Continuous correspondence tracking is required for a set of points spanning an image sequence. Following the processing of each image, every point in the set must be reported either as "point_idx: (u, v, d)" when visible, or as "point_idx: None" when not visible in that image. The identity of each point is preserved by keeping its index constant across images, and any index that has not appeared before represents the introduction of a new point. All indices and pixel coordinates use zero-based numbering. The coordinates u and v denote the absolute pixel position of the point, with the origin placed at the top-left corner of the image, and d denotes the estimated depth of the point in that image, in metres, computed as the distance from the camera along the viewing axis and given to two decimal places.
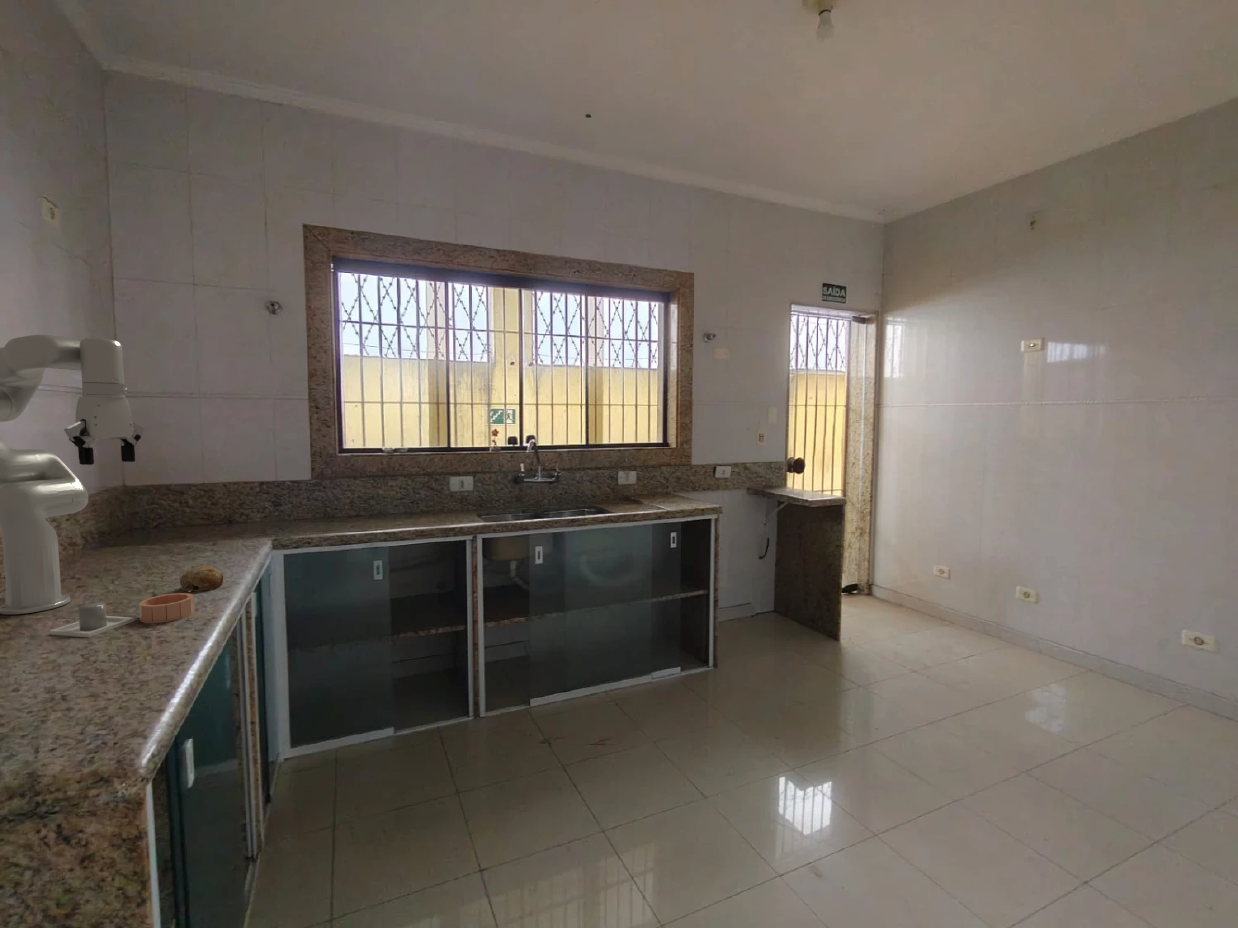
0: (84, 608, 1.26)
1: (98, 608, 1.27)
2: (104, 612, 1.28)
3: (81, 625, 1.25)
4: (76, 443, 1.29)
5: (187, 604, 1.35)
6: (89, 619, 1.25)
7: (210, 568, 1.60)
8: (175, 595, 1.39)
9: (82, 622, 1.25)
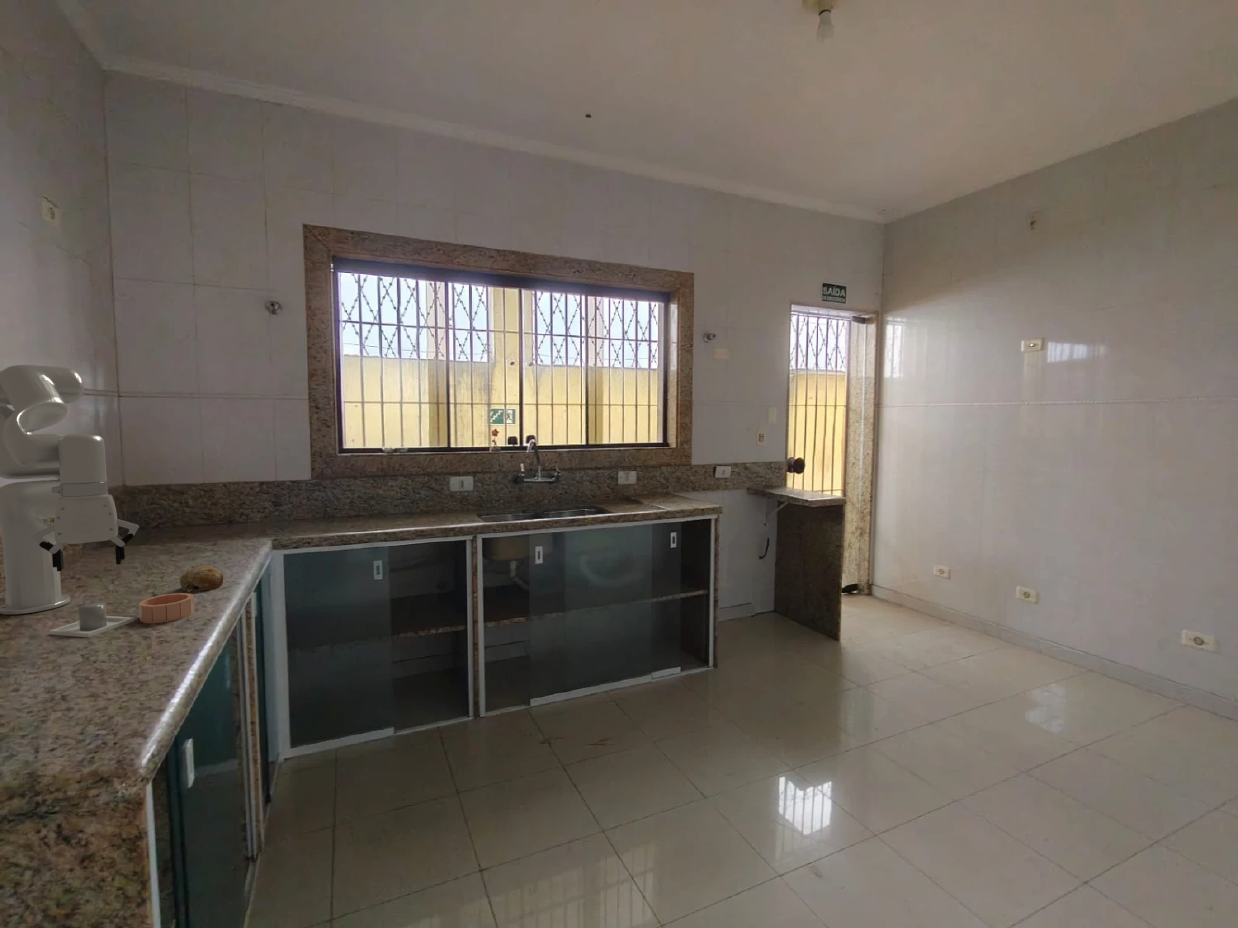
0: (84, 608, 1.26)
1: (98, 608, 1.27)
2: (104, 612, 1.28)
3: (81, 625, 1.25)
4: (128, 540, 1.30)
5: (187, 604, 1.35)
6: (89, 619, 1.25)
7: (210, 568, 1.60)
8: (175, 595, 1.39)
9: (82, 622, 1.25)
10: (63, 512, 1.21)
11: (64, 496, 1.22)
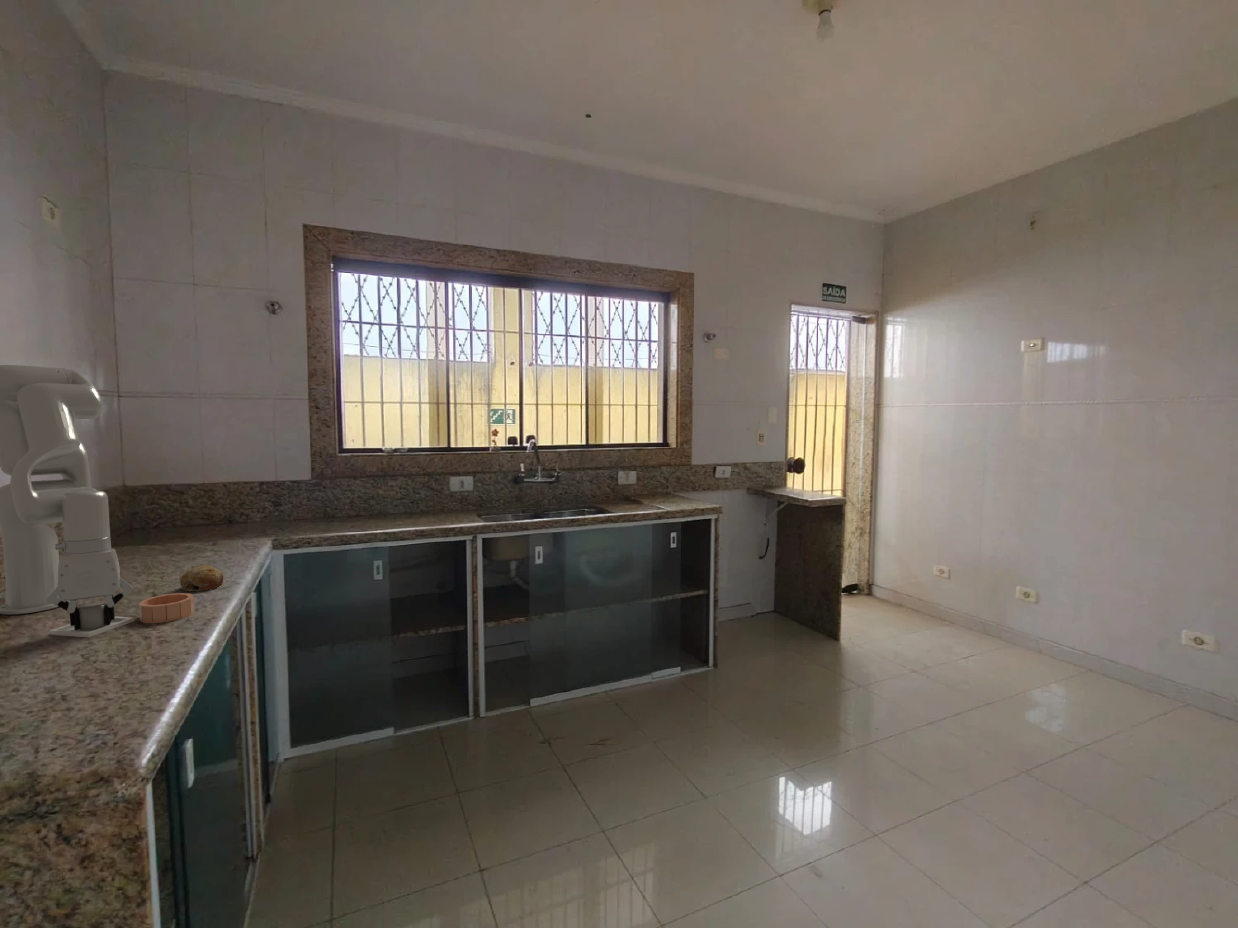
0: (84, 608, 1.26)
1: (98, 608, 1.27)
2: (104, 612, 1.28)
3: (81, 625, 1.25)
4: (118, 600, 1.30)
5: (187, 604, 1.35)
6: (89, 619, 1.25)
7: (210, 568, 1.60)
8: (175, 595, 1.39)
9: (82, 622, 1.25)
10: (66, 569, 1.22)
11: (68, 553, 1.23)
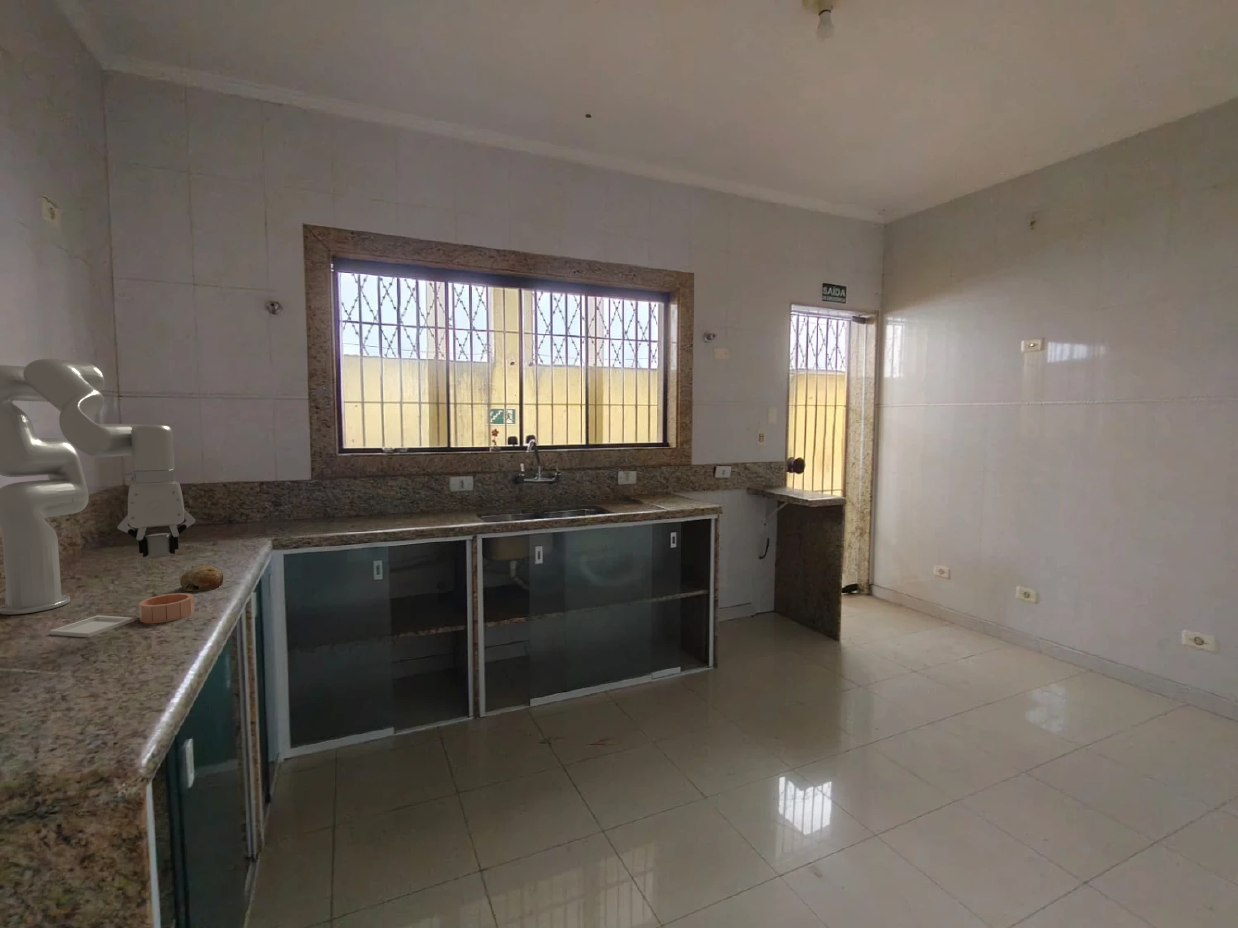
0: (151, 536, 1.32)
1: (164, 537, 1.33)
2: (169, 541, 1.34)
3: (149, 552, 1.32)
4: None
5: (187, 604, 1.35)
6: (156, 547, 1.32)
7: (210, 568, 1.60)
8: (175, 595, 1.39)
9: (150, 549, 1.32)
10: (136, 497, 1.29)
11: (137, 482, 1.29)
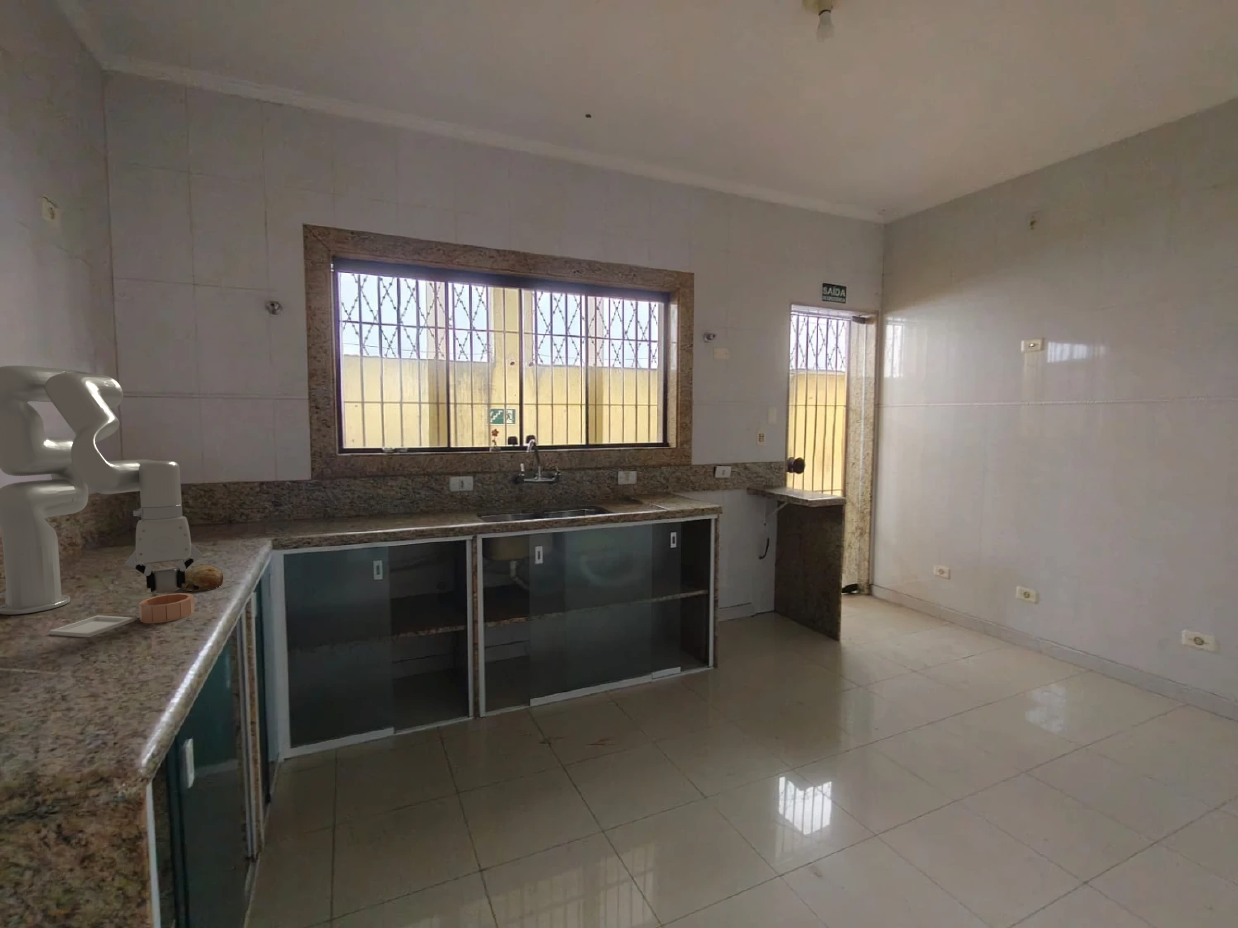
0: (159, 571, 1.33)
1: (172, 571, 1.34)
2: (177, 576, 1.36)
3: (156, 587, 1.33)
4: None
5: (187, 604, 1.35)
6: (164, 582, 1.33)
7: (210, 568, 1.60)
8: (175, 595, 1.39)
9: (158, 584, 1.33)
10: (144, 533, 1.30)
11: (145, 519, 1.30)
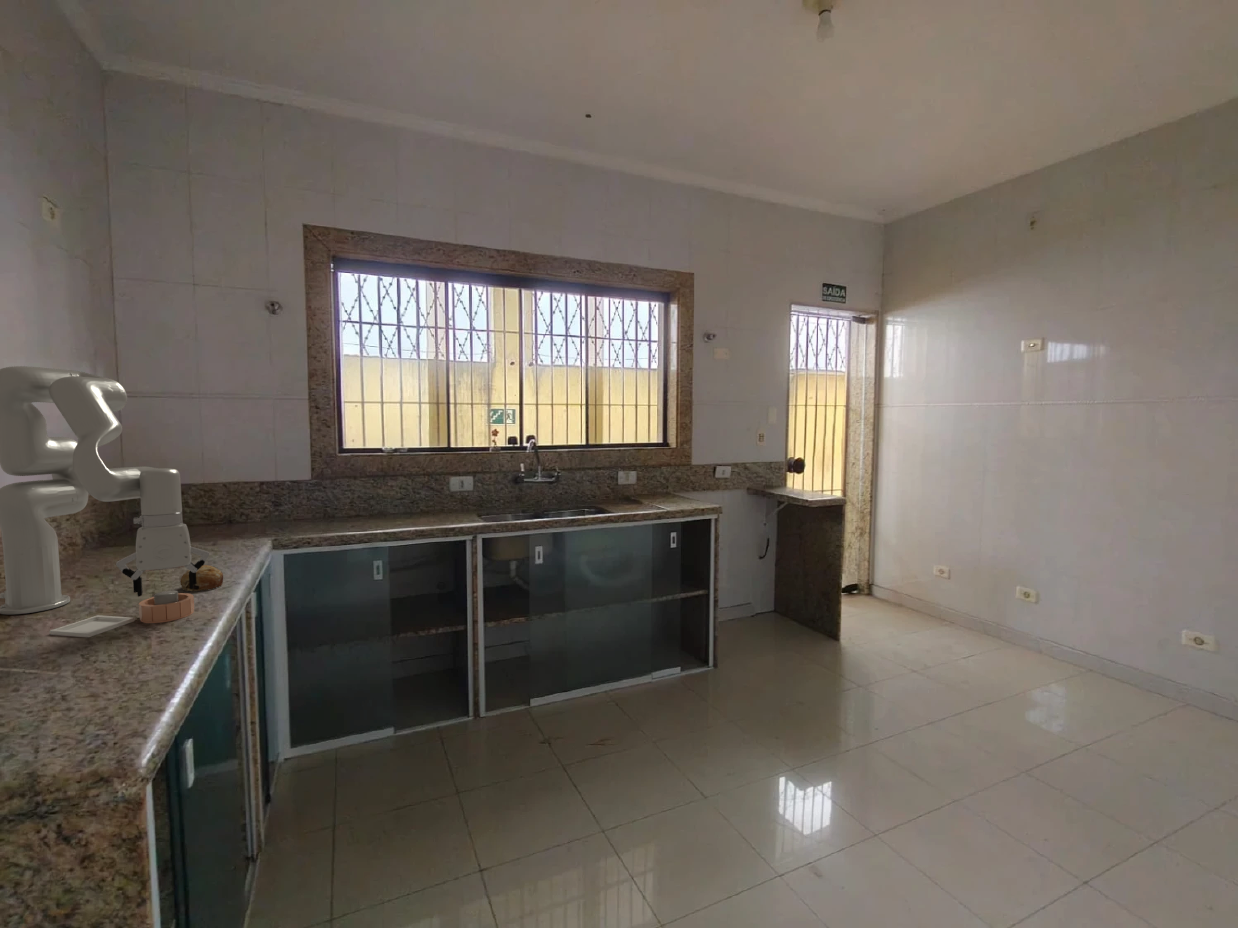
0: (159, 595, 1.34)
1: (172, 595, 1.35)
2: (177, 599, 1.36)
3: None
4: None
5: (187, 604, 1.35)
6: None
7: (210, 568, 1.60)
8: None
9: None
10: (144, 541, 1.30)
11: (145, 526, 1.31)
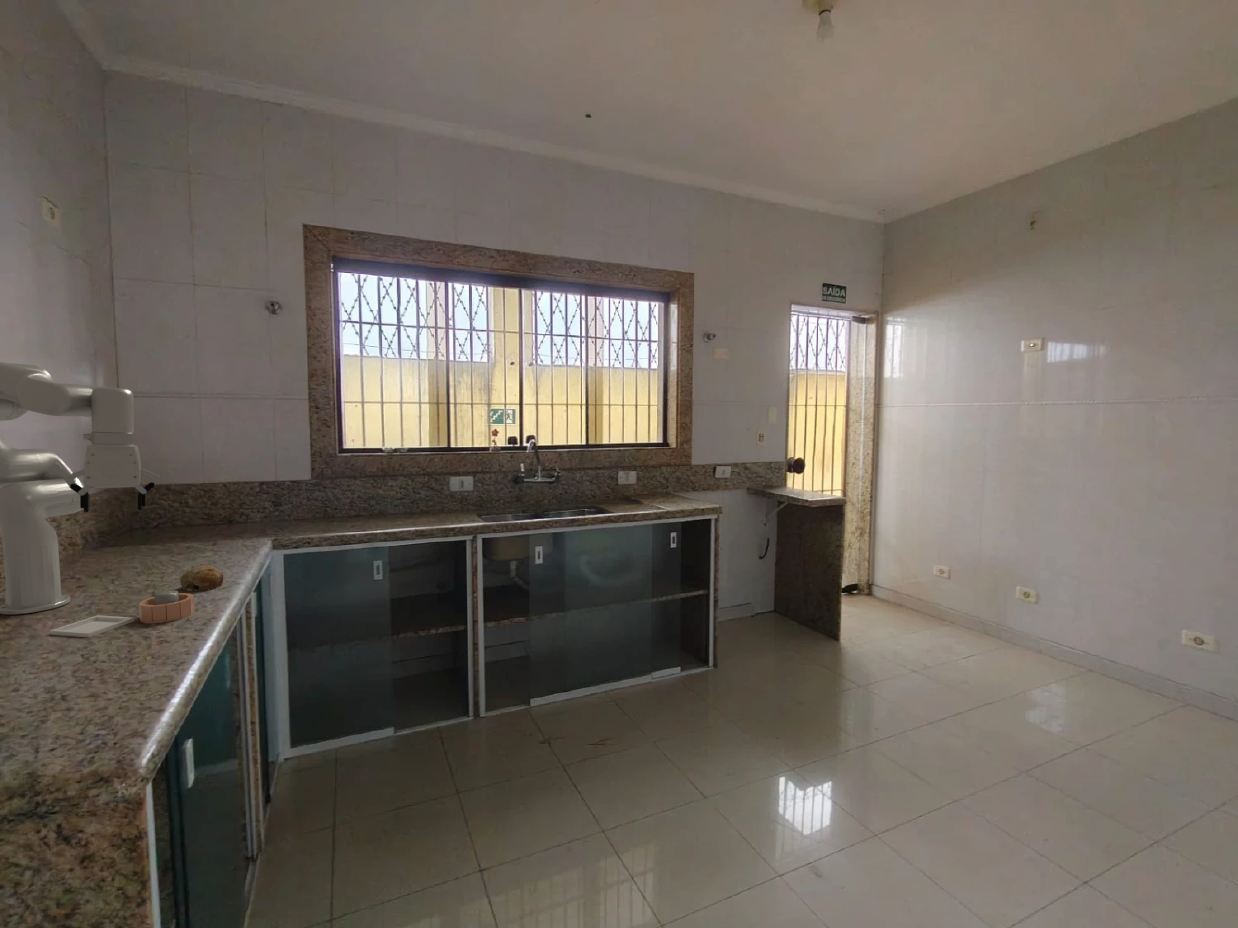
0: (160, 595, 1.34)
1: (172, 595, 1.35)
2: (177, 599, 1.36)
3: None
4: None
5: (187, 604, 1.35)
6: None
7: (210, 568, 1.60)
8: None
9: None
10: (93, 457, 1.31)
11: (94, 443, 1.32)
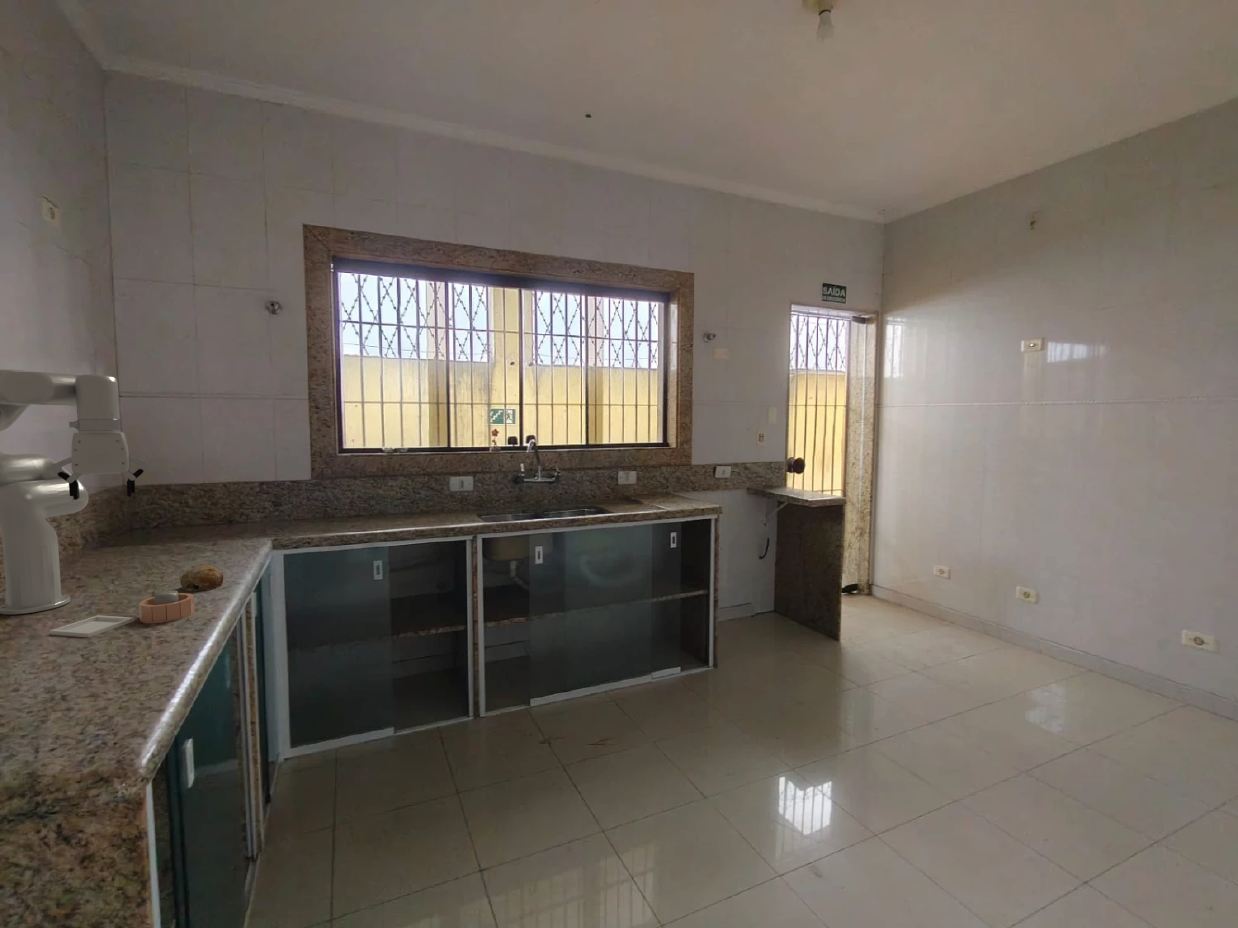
0: (159, 595, 1.34)
1: (172, 595, 1.35)
2: (177, 599, 1.36)
3: None
4: (139, 475, 1.41)
5: (187, 604, 1.35)
6: None
7: (210, 567, 1.60)
8: None
9: None
10: (80, 444, 1.32)
11: (81, 430, 1.32)
